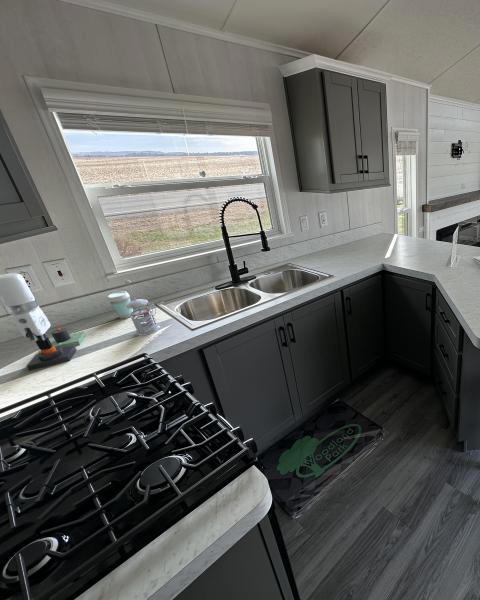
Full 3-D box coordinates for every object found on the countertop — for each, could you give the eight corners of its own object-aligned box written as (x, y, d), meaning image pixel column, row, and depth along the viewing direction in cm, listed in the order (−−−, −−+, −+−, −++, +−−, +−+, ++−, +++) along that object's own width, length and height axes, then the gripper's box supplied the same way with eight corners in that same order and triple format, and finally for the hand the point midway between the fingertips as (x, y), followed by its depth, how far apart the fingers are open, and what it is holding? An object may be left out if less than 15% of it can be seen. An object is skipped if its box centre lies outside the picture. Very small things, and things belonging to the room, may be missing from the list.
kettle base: (29, 370, 125) (23, 362, 123) (38, 358, 132) (33, 350, 130) (70, 360, 130) (65, 352, 128) (76, 350, 137) (72, 341, 135)
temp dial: (69, 340, 140) (63, 330, 138) (54, 343, 138) (48, 334, 136) (72, 335, 144) (67, 326, 142) (57, 338, 142) (52, 329, 140)
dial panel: (42, 353, 136) (40, 349, 135) (51, 342, 143) (49, 338, 143) (80, 345, 141) (77, 340, 140) (86, 334, 149) (84, 330, 148)
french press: (129, 335, 147) (106, 283, 136) (151, 322, 157) (131, 274, 147) (147, 336, 145) (126, 284, 135) (168, 323, 156) (150, 274, 145)
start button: (41, 356, 127) (38, 352, 126) (45, 351, 130) (42, 347, 129) (54, 353, 129) (52, 349, 128) (58, 348, 132) (56, 344, 131)
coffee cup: (140, 313, 166) (131, 292, 161) (122, 321, 159) (112, 299, 154) (131, 310, 170) (122, 289, 165) (112, 318, 163) (102, 296, 158)
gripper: (28, 312, 116) (52, 354, 124) (44, 297, 128) (65, 337, 136) (-2, 317, 113) (25, 360, 121) (17, 301, 125) (41, 342, 133)
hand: (46, 348), depth 128 cm, fingers closed
